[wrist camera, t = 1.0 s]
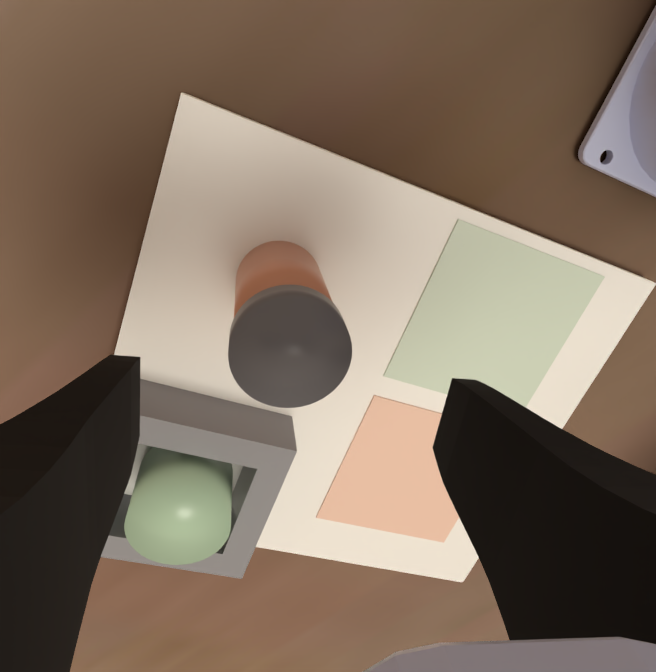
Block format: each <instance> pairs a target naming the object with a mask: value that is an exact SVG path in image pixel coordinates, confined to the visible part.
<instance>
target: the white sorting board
mask: <svg viewBox="0 0 656 672" xmlns="http://www.w3.org/2000/svg"><path fill="white" fill-rule="evenodd" d="M270 241H287V242H291V243H294V244H297V245H299V246H301V247H302V248H304V249H305V250H307V251H308V252H309V253H310V254H311V255H312V256H313V258H314V259H315V261H316V262H317V264H318V267H319V269H320V272H321V274H322V277H323V279H324V282H325V284H326V287H327V289H328V292H329V294H330V297H331V299H332V302H333V303H334V304H335V306H336V307H337V308H338V310H339V311H340V313H341V315H342V317H343V320H344V322H345V325H346V327H347V329H348V332H349V335H350V338H351V342H352V359H351V363H350V367H349V369H348V372H347V374H346V376H345V377H344V379H343V380H342V382H341V383H340V384H339V386H338V387H337V388H336V389H335V390H334V391H333V392H331V393H330V394H329V395H327V396H326V397H324V398H323V399H321V400H319V401H317V402H315V403H312V404H310V405H306V406H302V407H296V408H278V407H273V406H269V405H266V404H263V403H261V402H259V401H257V400H255V399H253V398H252V397H250V396H249V395H248V394H246V393H245V392H244V391H243V390H242V389H241V388H240V387H239V385H238V384H237V382H236V381H235V379H234V377H233V375H232V373H231V370H230V366H229V361H228V347H229V334H230V328H231V324H232V322H233V319H234V305H235V286H236V274H237V270H238V268H239V265H240V263H241V261H242V260H243V258H244V257H245V256H246V255H247V254H248V253H249V252H250V251H251V250H252V249H254V248H255V247H257V246H259V245H261V244H263V243H266V242H270ZM655 285H656V283H654V282H652V281H650V280H648V279H646V278H644V277H642V276H639V275H637V274H634V273H632V272H629V271H627V270H624V269H622V268H619V267H617V266H614V265H612V264H609V263H607V262H604V261H602V260H599V259H597V258H594V257H592V256H589V255H587V254H584V253H582V252H579V251H577V250H575V249H572V248H570V247H567V246H565V245H562V244H560V243H557V242H555V241H552V240H550V239H547V238H545V237H542V236H540V235H537V234H535V233H532V232H530V231H527V230H525V229H522V228H520V227H517V226H515V225H512V224H510V223H507V222H505V221H502V220H500V219H497V218H495V217H492V216H490V215H487V214H485V213H483V212H480V211H478V210H475V209H473V208H470V207H468V206H465V205H463V204H460V203H458V202H455V201H453V200H450V199H448V198H445V197H443V196H440V195H438V194H435V193H433V192H430V191H428V190H425V189H423V188H420V187H418V186H415V185H413V184H410V183H408V182H405V181H403V180H400V179H398V178H395V177H393V176H391V175H388V174H386V173H383V172H381V171H378V170H376V169H373V168H371V167H368V166H366V165H363V164H361V163H358V162H356V161H353V160H351V159H348V158H346V157H343V156H341V155H338V154H336V153H333V152H331V151H328V150H326V149H323V148H321V147H318V146H316V145H313V144H311V143H308V142H306V141H303V140H301V139H299V138H296V137H294V136H291V135H289V134H286V133H284V132H281V131H279V130H276V129H274V128H271V127H269V126H266V125H264V124H261V123H259V122H256V121H254V120H251V119H249V118H246V117H244V116H241V115H239V114H236V113H234V112H231V111H229V110H226V109H224V108H221V107H219V106H216V105H214V104H211V103H209V102H206V101H204V100H202V99H199V98H197V97H194V96H192V95H189V94H187V93H184V92H183V93H181V96H180V100H179V104H178V107H177V111H176V115H175V119H174V123H173V127H172V131H171V135H170V139H169V143H168V146H167V150H166V154H165V158H164V162H163V166H162V170H161V174H160V178H159V181H158V185H157V189H156V193H155V197H154V201H153V205H152V209H151V213H150V217H149V220H148V224H147V228H146V232H145V236H144V240H143V244H142V248H141V252H140V255H139V259H138V263H137V267H136V271H135V275H134V279H133V283H132V287H131V291H130V294H129V298H128V302H127V306H126V310H125V314H124V318H123V322H122V326H121V329H120V333H119V337H118V341H117V345H116V349H115V353H114V355H121V356H135V357H140V437H139V442H138V446H137V451H136V456H135V460H134V464H133V469H132V473H131V476H130V479H129V482H128V485H127V487H126V490H125V493H124V496H123V498H122V501H121V504H120V506H119V509H118V512H117V514H116V517H115V520H114V522H113V525H112V528H111V531H110V533H109V536H108V539H107V541H106V544H105V547H104V549H103V552H102V555H101V557H104V558H111V559H117V560H124V561H130V562H137V563H143V564H150V565H156V566H163V567H169V568H176V569H182V570H189V571H195V572H202V573H208V574H215V575H221V576H228V577H234V578H241V579H242V577H243V575H244V572H245V570H246V568H247V565H248V563H249V561H250V559H251V556H252V554H253V552H254V549H255V547H260V548H266V549H272V550H278V551H283V552H289V553H295V554H301V555H307V556H312V557H318V558H324V559H330V560H336V561H341V562H347V563H353V564H359V565H365V566H370V567H376V568H382V569H388V570H394V571H400V572H405V573H411V574H417V575H423V576H429V577H434V578H440V579H446V580H452V581H458V582H463V581H464V580H465V578H466V577H467V575H468V574H469V572H470V570H471V569H472V567H473V566H474V564H475V563H476V561H477V560H478V558H479V557H478V555H477V553H476V551H475V549H474V547H473V545H472V543H471V541H470V538H469V536H468V534H467V532H466V530H465V528H464V526H463V524H462V522H461V520H460V518H459V516H458V514H457V512H456V510H455V507H454V505H453V503H452V501H451V499H450V497H449V495H448V493H447V490H446V488H445V486H444V484H443V481H442V478H441V475H440V472H439V469H438V466H437V462H436V459H435V455H434V451H433V448H432V447H433V444H434V440H435V437H436V433H437V430H438V426H439V422H440V419H441V415H442V412H443V408H444V405H445V401H446V398H447V394H448V391H449V387H450V384H451V380H452V378H458V379H473V380H477V381H480V382H482V383H484V384H486V385H488V386H490V387H492V388H494V389H495V390H497V391H499V392H501V393H502V394H504V395H506V396H507V397H509V398H511V399H512V400H514V401H516V402H517V403H519V404H521V405H522V406H524V407H526V408H527V409H529V410H531V411H532V412H534V413H536V414H537V415H539V416H540V417H542V418H544V419H546V420H547V421H549V422H551V423H552V424H554V425H556V426H557V427H559V428H561V429H562V428H563V427H564V425H565V424H566V422H567V421H568V419H569V418H570V416H571V414H572V413H573V411H574V410H575V408H576V407H577V405H578V404H579V402H580V401H581V399H582V397H583V396H584V394H585V393H586V391H587V390H588V388H589V387H590V385H591V384H592V382H593V380H594V379H595V377H596V376H597V374H598V373H599V371H600V370H601V368H602V367H603V365H604V363H605V362H606V360H607V359H608V357H609V356H610V354H611V353H612V351H613V350H614V348H615V346H616V345H617V343H618V342H619V340H620V339H621V337H622V336H623V334H624V333H625V331H626V329H627V328H628V326H629V325H630V323H631V322H632V320H633V319H634V317H635V316H636V314H637V313H638V311H639V309H640V308H641V306H642V305H643V303H644V302H645V300H646V299H647V297H648V296H649V294H650V292H651V291H652V289H653V288H654V286H655ZM152 447H157V448H162V449H166V450H171V451H176V452H180V453H185V454H190V455H194V456H199V457H204V458H208V459H213V460H218V461H222V462H227V463H231V464H232V469H233V481H232V510H231V530H230V534H229V537H228V539H227V541H226V542H225V544H224V545H223V546H222V547H221V548H220V549H219V550H218V551H217V552H216V553H215V554H213V555H211V556H210V557H208V558H206V559H204V560H201V561H199V562H195V563H191V564H184V565H169V564H162V563H158V562H155V561H152V560H150V559H147V558H145V557H144V556H142V555H141V554H139V553H138V552H137V551H136V550H135V549H133V547H132V546H131V545H130V544H129V542H128V540H127V538H126V535H125V530H124V523H125V518H126V515H127V511H128V507H129V504H130V500H131V497H132V493H133V490H134V486H135V482H136V479H137V475H138V472H139V468H140V465H141V462H142V460H143V458H144V456H145V455H146V454H147V452H148V451H149V450H150V449H151V448H152Z"/></svg>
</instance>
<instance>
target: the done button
mask: <svg viewBox="0 0 656 672" xmlns="http://www.w3.org/2000/svg"><path fill="white" fill-rule="evenodd" d="M232 481H233V469H232V464H231V463H227V462H222V461H218V460H213V459H208V458H204V457H199V456H194V455H190V454H185V453H180V452H176V451H171V450H166V449H162V448H157V447H152V448H151V449H150V450H149V451H148V452H147V454H146V455H145V456H144V458H143V460H142V462H141V465H140V468H139V472H138V475H137V479H136V482H135V486H134V490H133V493H132V497H131V500H130V504H129V507H128V511H127V515H126V518H125V523H124V530H125V535H126V538H127V540H128V542H129V544H130V545H131V546H132V547H133V549H135V550H136V551H137V552H138V553H139V554H141V555H142V556H144V557H145V558H147V559H150V560H152V561H155V562H158V563H162V564H169V565H184V564H191V563H195V562H199V561H201V560H204V559H206V558H208V557H210V556H211V555H213V554H215V553H216V552H217V551H218V550H219V549H220V548H221V547H222V546H223V545H224V544H225V542H226V541H227V539H228V537H229V534H230V530H231V510H232Z"/></svg>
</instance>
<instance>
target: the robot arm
mask: <svg viewBox="0 0 656 672" xmlns="http://www.w3.org/2000/svg"><path fill="white" fill-rule="evenodd" d="M604 151H606V153H607V156H606V159H605V160H604V161H603V162H600V156H601V154H602V153H603V152H604ZM578 158H579V160H580V162H581V163H583V164H584V165H586V166H588V167H591V168H593V169H595V170H597V171H599V172H601V173H604V174H606V175H608V176H610V177H612V178H614V179H617V180H619V181H621V182H623V183H625V184H627V185H630V186H632V187H634V188H636V189H638V190H641V191H643V192H645V193H647V194H649V195H651V196H654V197H656V6H655V8H654V9H653V11H652V13H651V15H650V17H649V19H648V21H647V23H646V24H645V26H644V28H643V30H642V32H641V34H640V36H639V37H638V39H637V41H636V43H635V45H634V47H633V49H632V50H631V52H630V54H629V56H628V58H627V60H626V62H625V64H624V65H623V67H622V69H621V71H620V73H619V75H618V77H617V78H616V80H615V82H614V84H613V86H612V88H611V90H610V92H609V93H608V95H607V97H606V99H605V101H604V103H603V105H602V106H601V108H600V110H599V112H598V114H597V116H596V118H595V120H594V121H593V123H592V125H591V127H590V129H589V131H588V133H587V134H586V136H585V138H584V140H583V142H582V144H581V146H580V148H579V151H578ZM139 437H140V357H135V356H121V355H110V356H108V357H106V358H105V359H103V360H102V361H101V362H99V363H98V364H96V365H95V366H93V367H92V368H91V369H89V370H88V371H86V372H85V373H84V374H82V375H81V376H79V377H78V378H76V379H75V380H73V381H72V382H70V383H69V384H67V385H66V386H64V387H63V388H62V389H60V390H59V391H57V392H56V393H54V394H52V395H51V396H49V397H47V398H46V399H44V400H42V401H41V402H39V403H37V404H36V405H34V406H32V407H31V408H29V409H27V410H26V411H24V412H22V413H21V414H19V415H17V416H15V417H13V418H12V419H10V420H8V421H6V422H4V423H2V424H0V672H70V668H71V663H72V659H73V655H74V651H75V647H76V643H77V639H78V635H79V631H80V627H81V623H82V619H83V615H84V611H85V607H86V603H87V600H88V596H89V592H90V588H91V584H92V581H93V578H94V575H95V572H96V569H97V566H98V563H99V560H100V557H101V555H102V552H103V549H104V547H105V544H106V541H107V539H108V536H109V533H110V531H111V528H112V525H113V522H114V520H115V517H116V514H117V512H118V509H119V506H120V504H121V501H122V498H123V496H124V493H125V490H126V487H127V485H128V482H129V479H130V476H131V473H132V469H133V464H134V460H135V456H136V451H137V446H138V442H139ZM432 448H433V451H434V455H435V459H436V462H437V466H438V469H439V472H440V475H441V478H442V481H443V484H444V486H445V488H446V490H447V493H448V495H449V497H450V499H451V501H452V503H453V505H454V507H455V510H456V512H457V514H458V516H459V518H460V520H461V522H462V524H463V526H464V528H465V530H466V532H467V534H468V536H469V538H470V541H471V543H472V545H473V547H474V549H475V551H476V553H477V555H478V557H479V559H480V561H481V563H482V566H483V568H484V570H485V573H486V575H487V577H488V579H489V582H490V585H491V587H492V590H493V593H494V596H495V599H496V601H497V604H498V607H499V610H500V613H501V615H502V618H503V621H504V624H505V627H506V630H507V633H508V636H509V639H510V640H508V641H478V642H448V643H435V644H431V645H426V646H421V647H416V648H412V649H407V650H402V651H397V652H395V653H393V654H391V655H390V656H388V657H386V658H385V659H383V660H381V661H380V662H378V663H376V664H375V665H373V666H371V667H370V668H368V669H366V670H365V671H363V672H656V475H655V474H652V473H650V472H648V471H645V470H643V469H641V468H638V467H636V466H634V465H632V464H629V463H627V462H625V461H623V460H621V459H619V458H617V457H614V456H612V455H610V454H608V453H606V452H604V451H602V450H600V449H598V448H596V447H594V446H592V445H590V444H588V443H586V442H584V441H583V440H581V439H579V438H577V437H575V436H574V435H572V434H570V433H568V432H566V431H564V430H563V429H561V428H559V427H557V426H556V425H554V424H552V423H551V422H549V421H547V420H546V419H544V418H542V417H540V416H539V415H537V414H536V413H534V412H532V411H531V410H529V409H527V408H526V407H524V406H522V405H521V404H519V403H517V402H516V401H514V400H512V399H511V398H509V397H507V396H506V395H504V394H502V393H501V392H499V391H497V390H495V389H494V388H492V387H490V386H488V385H486V384H484V383H482V382H480V381H477V380H473V379H458V378H452V380H451V384H450V387H449V391H448V394H447V398H446V401H445V405H444V408H443V412H442V415H441V419H440V422H439V426H438V430H437V433H436V437H435V440H434V444H433V447H432Z"/></svg>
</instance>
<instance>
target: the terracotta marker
mask: <svg viewBox="0 0 656 672" xmlns="http://www.w3.org/2000/svg"><path fill="white" fill-rule="evenodd" d="M351 359H352V342H351V338H350V335H349V332H348V329H347V327H346V325H345V322H344V320H343V317H342V315H341V313H340V311H339V310H338V308H337V307H336V306H335V304H334V303H333V302H332V299H331V297H330V294H329V292H328V289H327V287H326V284H325V282H324V279H323V277H322V274H321V272H320V269H319V267H318V264H317V262H316V261H315V259H314V258H313V256H312V255H311V254H310V253H309V252H308V251H307V250H305V249H304V248H302V247H301V246H299V245H297V244H294V243H291V242H287V241H270V242H266V243H263V244H261V245H259V246H257V247H255V248H254V249H252V250H251V251H250V252H249V253H248V254H247V255H246V256H245V257H244V258H243V260H242V261H241V263H240V265H239V268H238V270H237V274H236V286H235V305H234V319H233V322H232V324H231V328H230V334H229V347H228V361H229V366H230V370H231V373H232V375H233V377H234V379H235V381H236V382H237V384H238V385H239V387H240V388H241V389H242V390H243V391H244V392H245V393H246V394H248V395H249V396H250V397H252V398H253V399H255V400H257V401H259V402H261V403H263V404H266V405H269V406H273V407H278V408H296V407H302V406H306V405H310V404H312V403H315V402H317V401H319V400H321V399H323V398H324V397H326V396H327V395H329V394H330V393H331V392H333V391H334V390H335V389H336V388H337V387H338V386H339V384H340V383H341V382H342V380H343V379H344V377H345V376H346V374H347V372H348V369H349V367H350V363H351Z"/></svg>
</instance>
